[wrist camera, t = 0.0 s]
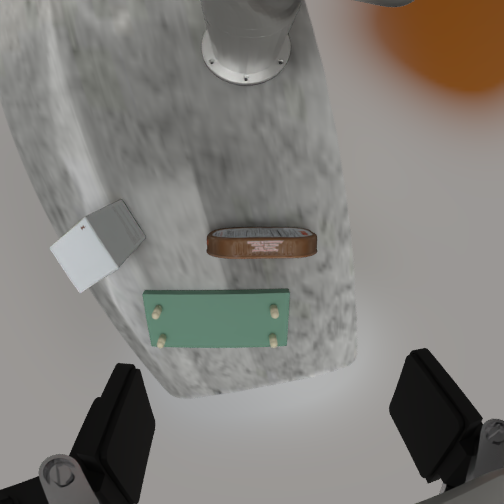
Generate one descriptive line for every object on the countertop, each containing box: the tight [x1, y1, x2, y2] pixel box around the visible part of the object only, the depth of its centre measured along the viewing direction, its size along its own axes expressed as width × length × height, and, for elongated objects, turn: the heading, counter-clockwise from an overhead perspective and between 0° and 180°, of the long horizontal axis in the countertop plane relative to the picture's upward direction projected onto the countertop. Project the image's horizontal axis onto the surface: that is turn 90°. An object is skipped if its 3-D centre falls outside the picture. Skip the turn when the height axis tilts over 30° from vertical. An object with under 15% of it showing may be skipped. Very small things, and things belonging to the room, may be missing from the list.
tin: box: [207, 227, 317, 259], centre depth 42 cm, size 15×3×8 cm, turn 90°
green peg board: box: [142, 289, 290, 348], centre depth 48 cm, size 10×23×5 cm, turn 90°
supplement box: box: [50, 199, 146, 293], centre depth 39 cm, size 7×7×13 cm
